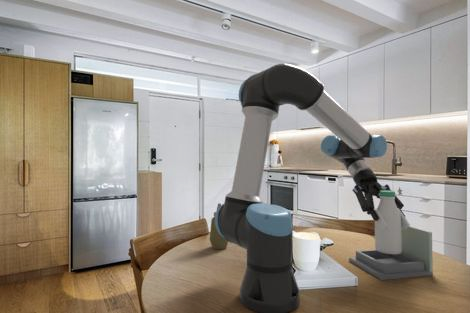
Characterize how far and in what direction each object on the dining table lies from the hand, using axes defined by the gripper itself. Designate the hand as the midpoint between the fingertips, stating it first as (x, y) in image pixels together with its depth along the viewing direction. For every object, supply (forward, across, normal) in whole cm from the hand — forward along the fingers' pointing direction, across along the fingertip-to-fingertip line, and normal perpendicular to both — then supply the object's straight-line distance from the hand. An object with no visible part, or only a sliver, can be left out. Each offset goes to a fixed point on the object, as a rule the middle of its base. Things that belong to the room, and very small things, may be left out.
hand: (395, 227), depth 87 cm
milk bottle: (+4, 0, -9) cm, 9 cm away
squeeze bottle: (-15, +52, -35) cm, 65 cm away
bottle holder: (+8, 0, -12) cm, 14 cm away
